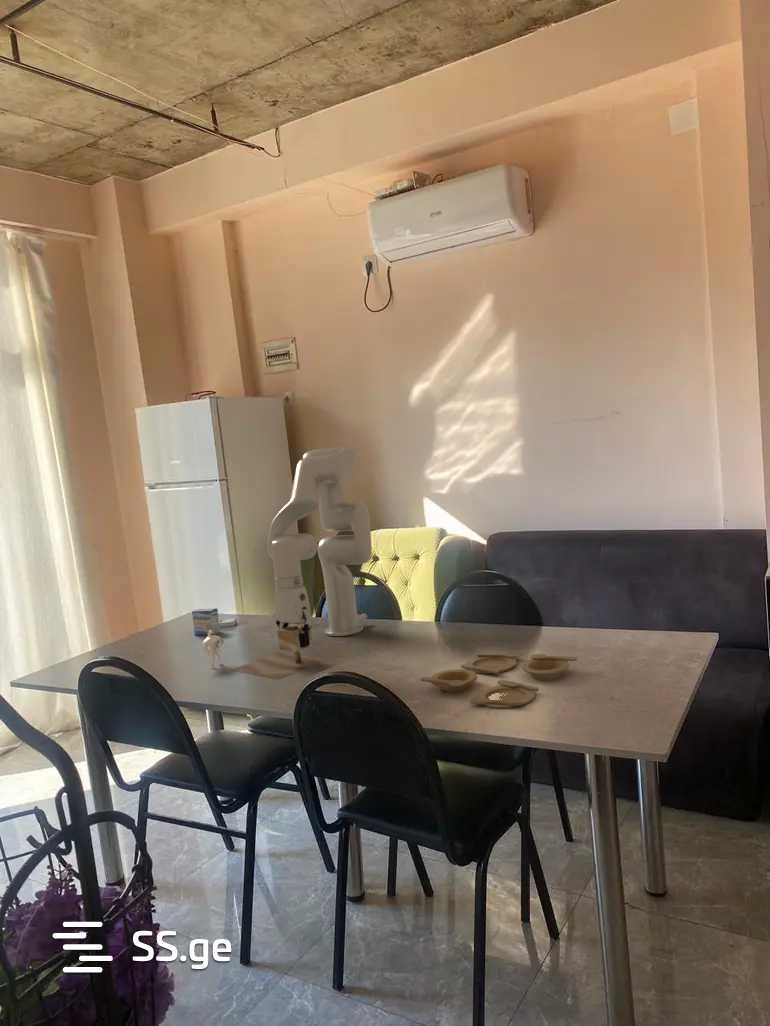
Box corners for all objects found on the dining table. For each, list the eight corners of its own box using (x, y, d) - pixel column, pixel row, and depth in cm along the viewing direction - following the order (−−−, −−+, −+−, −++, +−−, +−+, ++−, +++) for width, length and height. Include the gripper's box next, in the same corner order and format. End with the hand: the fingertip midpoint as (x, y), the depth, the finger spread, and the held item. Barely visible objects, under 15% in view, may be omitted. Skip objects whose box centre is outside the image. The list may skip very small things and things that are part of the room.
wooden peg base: (278, 656, 225) (275, 625, 224) (326, 664, 213) (322, 631, 212) (231, 675, 212) (226, 642, 211) (279, 684, 199) (274, 649, 198)
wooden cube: (296, 643, 216) (294, 624, 216) (312, 645, 212) (310, 626, 212) (279, 649, 211) (277, 630, 211) (295, 651, 207) (293, 632, 207)
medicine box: (194, 635, 263) (191, 611, 262) (200, 632, 267) (197, 608, 266) (214, 635, 261) (211, 610, 260) (220, 631, 265) (217, 607, 264)
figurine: (210, 675, 214) (204, 634, 212) (201, 673, 217) (196, 632, 215) (230, 668, 219) (225, 627, 218) (222, 666, 222) (217, 626, 221)
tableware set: (485, 655, 207) (484, 641, 207) (585, 668, 188) (584, 652, 188) (407, 697, 180) (406, 681, 180) (515, 717, 162) (513, 699, 161)
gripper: (320, 581, 207) (327, 644, 209) (278, 578, 219) (284, 638, 220) (300, 586, 202) (308, 652, 203) (258, 583, 213) (265, 645, 215)
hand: (295, 644), depth 212 cm, fingers closed on wooden cube, 6 cm apart
